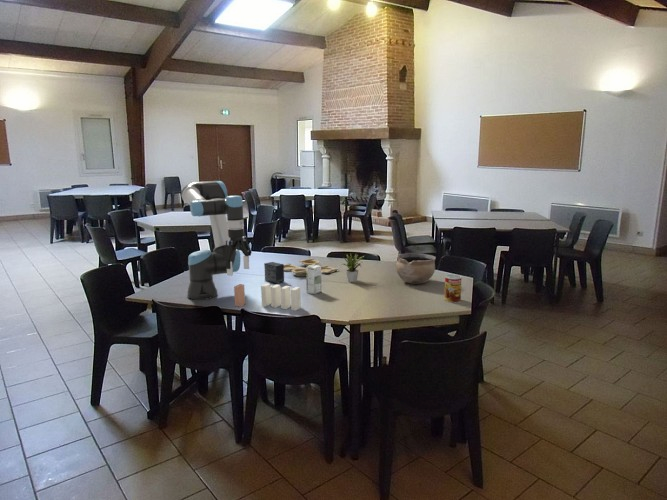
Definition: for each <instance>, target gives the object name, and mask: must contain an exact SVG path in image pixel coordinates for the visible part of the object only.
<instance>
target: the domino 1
mask: <svg viewBox="0 0 667 500" xmlns="http://www.w3.org/2000/svg"><path fill="white" fill-rule="evenodd" d="M233 293H234V306H240V307H243V306H244V305H245V304H246V297H245V296H246V295H245V294H246V293H245V284H243V283H241V284H237V285H234V286H233Z"/></svg>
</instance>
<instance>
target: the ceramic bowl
mask: <svg viewBox="0 0 667 500" xmlns="http://www.w3.org/2000/svg"><path fill="white" fill-rule="evenodd" d="M396 259H397V260H396V264H395V270H396V273H397V274H398V276H399V278H400V279H401V280H402V281H403V282H405V283H407V284H411V285H421V284H424V283H427V281H429V280H430V279H432V277H433V276H434V274H435V271H436V264H435V263H436V262H435V261H436V259H437V257H436V256H434V255H432V254H427V253H421V252H419V253H418V252H417V253H415V252H414V253H413V252H411V253H410V252H405V253H399V254H397V255H396Z"/></svg>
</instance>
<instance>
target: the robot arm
mask: <svg viewBox="0 0 667 500" xmlns="http://www.w3.org/2000/svg"><path fill="white" fill-rule="evenodd" d="M180 192H181V193H180V197H181V199H182V201H183V202H184V203H185V204H187V205H189V210H190V214H191V216H192V217H206V216H208V217H209V220H210V226H211V232H212V236H213V241H214V242H213V243H214V248H213V250H212V251H211V250H209V249H202V250H197V251H194V252H192V253H190V254H189V255H188V257H187V258H188V260H187V265H188V273H189V284H188V287H187V289H188V290H187V292H186V293H187V298H188V299H190V298H191V299H190V300H207V299H206V298H208V299H211V298H210V297H212V298H214V297H213V296H215V297H216V296H217V295H218V289H217V288H216V285H215V282H214V277H213V276H215V275H221V274H226V275H227V276H231V277H232V276H233V275H234V273H235V272H238V271H239V270H240V267H241V252H242V254H243V256H242V259H243V260H242V262H243V269H244V270H250V256H251V255H252V254H253V253H252V250H251V247H250V244H249V242H248V237H247V236H246V235H245V229H244V228H245V227H244V226H245V225H244V207H243V206H244V205H243V204H244V202H243V197H242V196H241V195H228V190H227V187H226V184H225V183H224V182H223V181H221V180H213V181H212V180H209V181H207V180H206V181H193V182H190V183H188V184H186V185H185V186H183V188H182V189H181V191H180ZM240 251H241V252H240Z"/></svg>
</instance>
